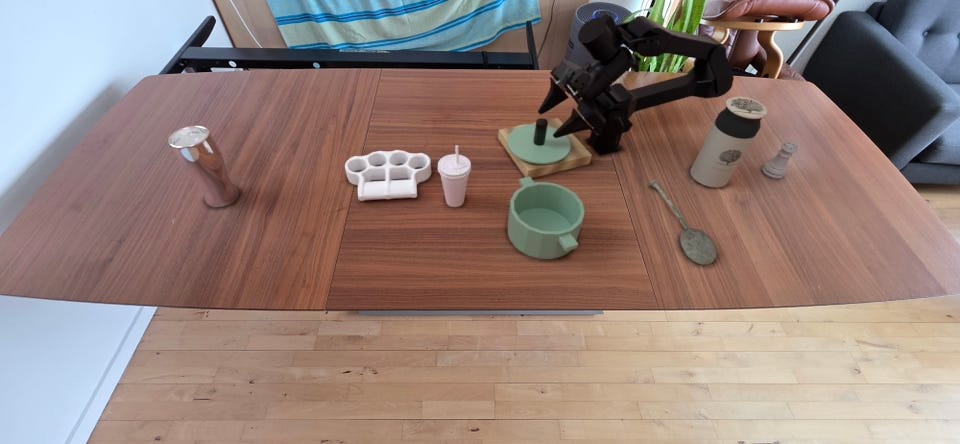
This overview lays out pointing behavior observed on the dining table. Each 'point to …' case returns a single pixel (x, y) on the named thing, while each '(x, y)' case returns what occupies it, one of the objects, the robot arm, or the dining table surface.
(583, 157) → the board
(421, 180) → the knuckle duster
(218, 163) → the beer glass
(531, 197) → the pot
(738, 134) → the travel mug
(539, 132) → the lid
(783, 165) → the rook chess piece
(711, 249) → the soupspoon
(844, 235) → the dining table surface
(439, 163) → the smoothie
